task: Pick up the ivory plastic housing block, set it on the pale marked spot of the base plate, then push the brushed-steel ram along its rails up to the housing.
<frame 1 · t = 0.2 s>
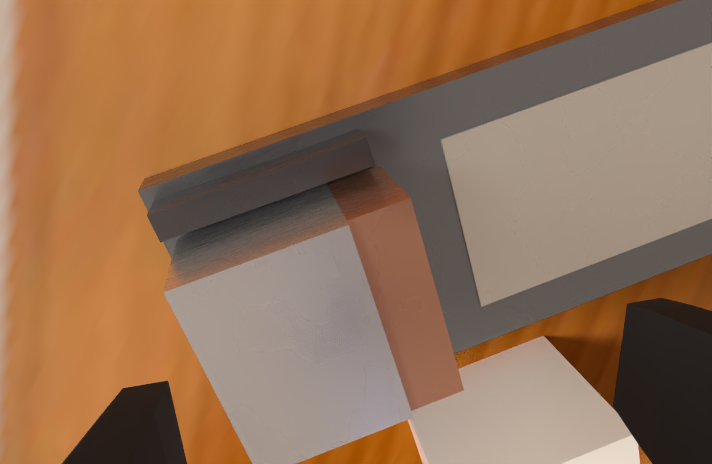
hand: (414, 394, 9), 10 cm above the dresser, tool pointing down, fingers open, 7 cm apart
ram: (321, 314, 15), point 3 cm above the dresser, slide at 0.0 cm
housing: (482, 406, 22), on the dresser
base plate: (455, 212, 19), on the dresser
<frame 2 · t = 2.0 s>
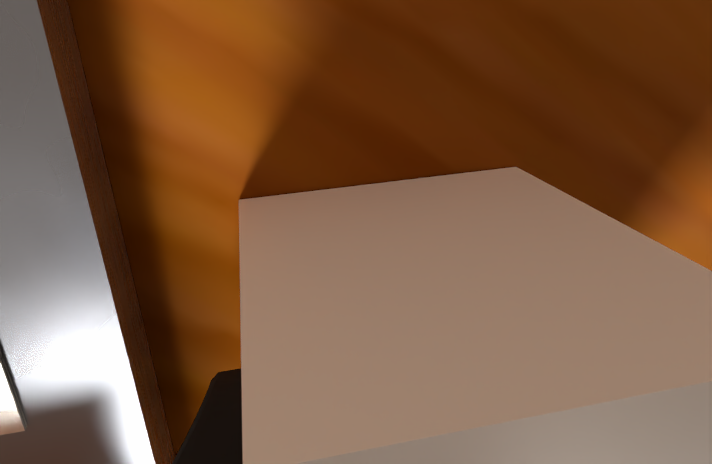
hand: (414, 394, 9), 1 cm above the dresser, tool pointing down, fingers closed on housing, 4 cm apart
housing: (390, 344, 10), on the dresser, touching gripper
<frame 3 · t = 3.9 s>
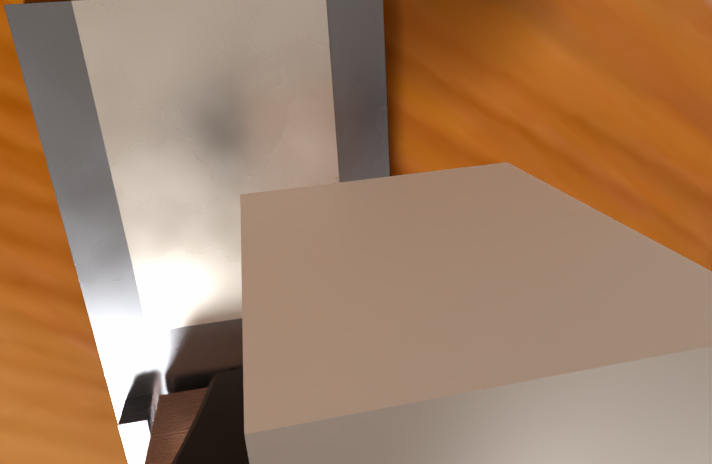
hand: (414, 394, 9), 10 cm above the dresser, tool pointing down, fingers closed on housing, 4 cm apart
housing: (387, 334, 10), point 8 cm above the dresser, touching gripper
base plate: (249, 290, 18), on the dresser
when the fingers open (4 cm above the dresser, at t = 6.0 s): housing stays where it is, resting on base plate.
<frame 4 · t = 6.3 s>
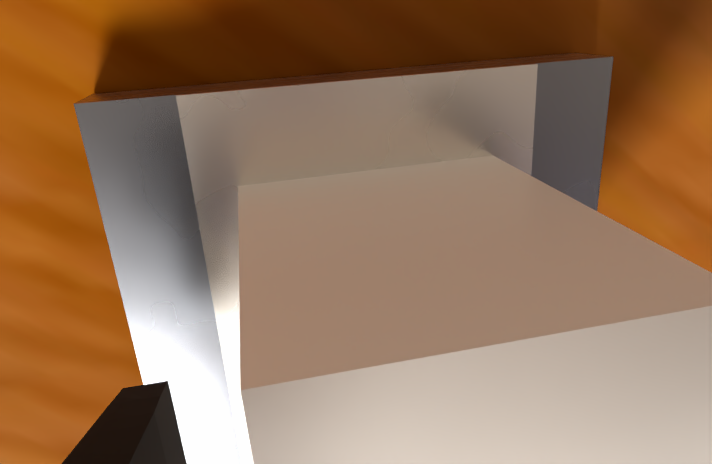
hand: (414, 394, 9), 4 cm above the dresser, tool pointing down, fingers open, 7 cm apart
housing: (379, 320, 11), point 1 cm above the dresser, touching base plate
base plate: (374, 444, 13), on the dresser
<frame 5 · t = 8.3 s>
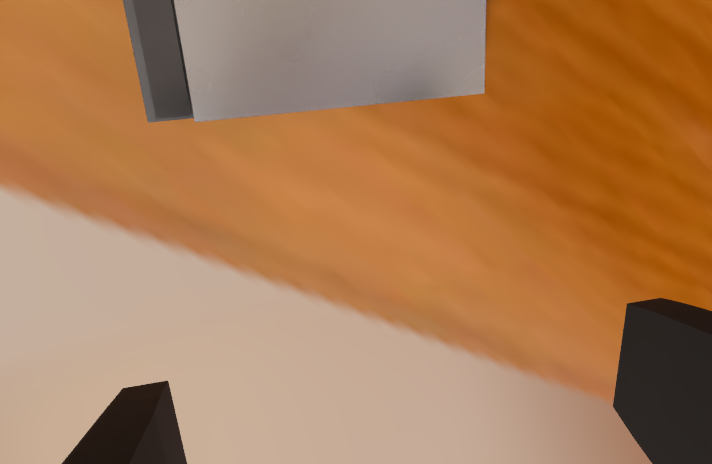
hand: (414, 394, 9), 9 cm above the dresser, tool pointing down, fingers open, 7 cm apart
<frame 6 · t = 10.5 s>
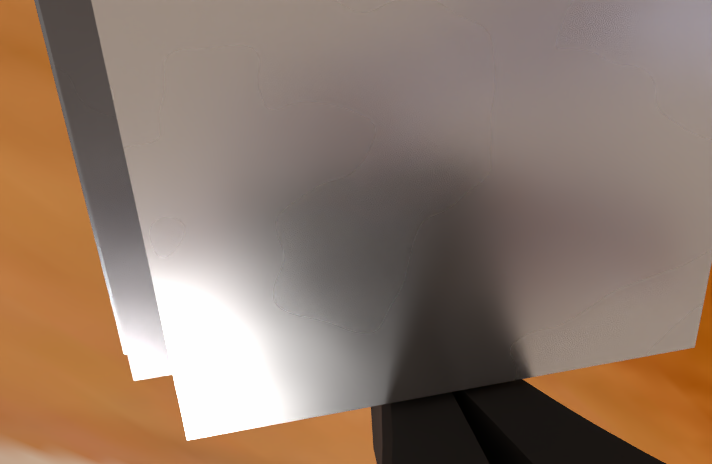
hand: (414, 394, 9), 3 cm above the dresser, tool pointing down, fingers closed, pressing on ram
ram: (410, 98, 7), point 3 cm above the dresser, slide at 0.6 cm, touching gripper
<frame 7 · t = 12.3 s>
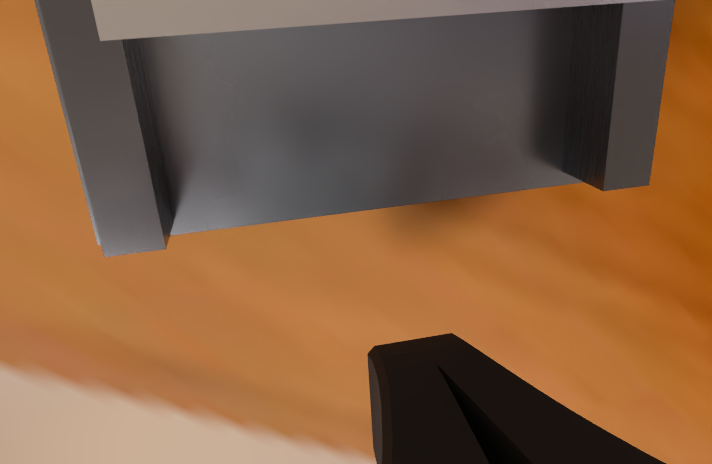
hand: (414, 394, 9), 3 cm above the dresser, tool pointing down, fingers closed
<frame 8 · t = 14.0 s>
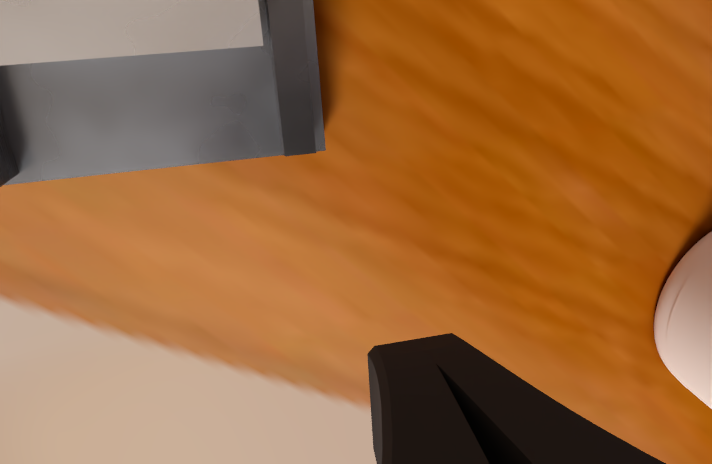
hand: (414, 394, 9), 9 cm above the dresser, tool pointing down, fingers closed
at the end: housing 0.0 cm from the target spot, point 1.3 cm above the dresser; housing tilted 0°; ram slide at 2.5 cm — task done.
